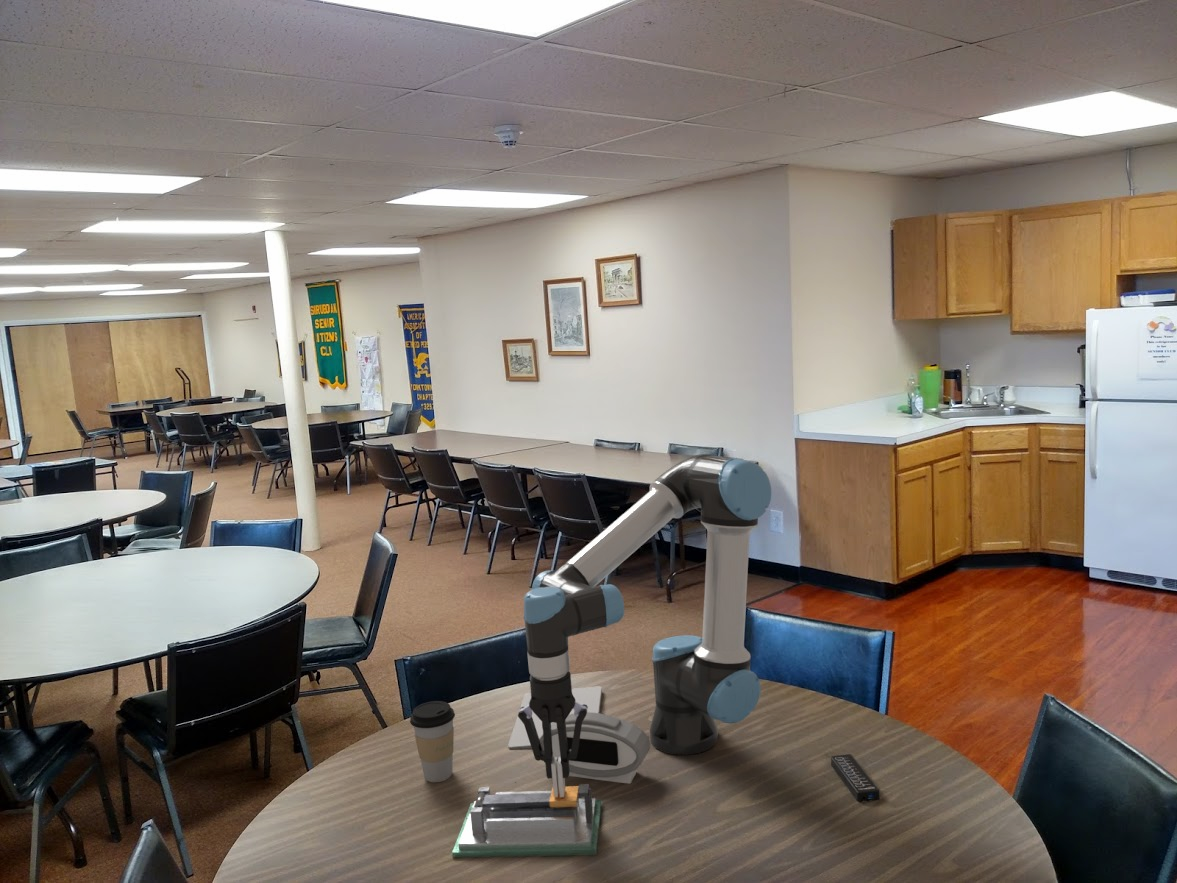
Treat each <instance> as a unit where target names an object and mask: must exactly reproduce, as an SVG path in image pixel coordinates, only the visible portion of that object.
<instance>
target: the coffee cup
mask: <svg viewBox="0 0 1177 883" xmlns="http://www.w3.org/2000/svg"><path fill="white" fill-rule="evenodd" d="M455 716H456V713H455V710H454V709H453V708H452V707H451V705H450V704H449V703H448V702H446V701H443V700H442V701H441V700H434V701H433V700H432V701H427V702H425V703H421V704H418V705H417V706H416V707H415V708H414V709H413V711H412V714H411V715H410V718H409V723H410V724H411V726H412V727H413V729H414V738H415V743H416V748H417V752H418V757H419V759H420V762H421V766H422V772H423V777H424V779H425V780H426V781H427V782H430V783H441V782H444V781H446V780H448V779H449V778H450V777H451V776H452V775H453V764H454V763H453V759H454V758H453V757H454V754H453V753H454V739H455V738H454V735H455V733H454V732H455V731H454V730H455V729H454V724H453V723H454V719H455Z"/></svg>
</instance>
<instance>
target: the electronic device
mask: <svg viewBox="0 0 1177 883" xmlns="http://www.w3.org/2000/svg"><path fill="white" fill-rule="evenodd" d="M602 689H603V688H602V686H600V685H596V686H595V685H594V686H587V687H585V686H584V687H575V688H572V694H573V696H574V698H575V702H577V703H579V704H580V705H583V704H585V705H587V706H588V709H587V712H590V713H600V714H601V712H600V711H601V702H602V696H603V695H602V694H603V690H602ZM530 699H531V691H530V692H526V693H524V695H523V698H522V701H521V704H520V708H521V707H526V706H527V705H529V702H530ZM520 708H519V709H520ZM574 712H575V711H574V709H572V711H571V712H570V714H574ZM570 714H569V715H570ZM532 718H533V721H534V724H535V728H536V731H537V734H538V737H539V738H540V737H541V736H542V735H543V729H542V721H541V720H540V719H539V718H538V717H537V715H536V714H535V713H534V712H533V711H532ZM552 723H553V722H552ZM552 723H551V724H552ZM507 748H508V749H510V750H516V749H517V750H518V749H519V750H520V749H521V750H522V749H532V747H531V744H530V741H529V738H528V735H527V732H526V729H525V726H524V724H523V722H522V721H521V720H520V718H519V717H518V715H517V717H516V720H515V723H514V726H513V729H512V732H511V735H510V737H509V741H508V745H507Z"/></svg>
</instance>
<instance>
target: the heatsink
mask: <svg viewBox="0 0 1177 883" xmlns="http://www.w3.org/2000/svg"><path fill="white" fill-rule="evenodd" d="M578 786H579V791H578V803H577V807H553V808H550V806H524V807H494V808H483V807H474V806H475V803H476V800H475V801H473V802H471V803H470V804H469V808H468V810H467V813H466V814H465V818H464V821H463V823H462V826H461V829H460V832H459V834H458V836H457V839H456V842H455V844H454V846H453V849H452V852H451V853H452V858H495V857H496V858H498V857H501V858H502V857H504V858H506V857H509V858H511V857H547V856H548V857H549V856H551V857H555V856H564V857H565V856H596V855H597V849H598V840H599V830H600V823H601V814H602V813H601V812H602V800H601V799H596V798H595V797H592V796H593V795H592V788H591V787H590V784H589V783H584V784H583V783H581V784H579V785H578ZM490 788H491V787H490V786H481V787H479V788H478V790H477V793H478V794H477V796H478V795H479V793H481V792H483V793H485V794H486V795H491V789H490ZM551 792H552V790H534V791H533V790H530V791H529V790H527V791H497V792H496V791H495V794H494V795H503V794H531V793H551Z"/></svg>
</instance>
